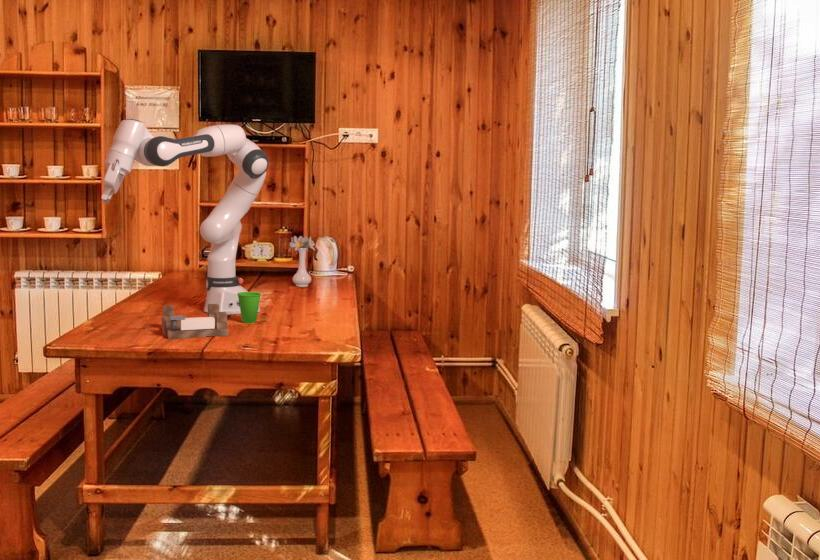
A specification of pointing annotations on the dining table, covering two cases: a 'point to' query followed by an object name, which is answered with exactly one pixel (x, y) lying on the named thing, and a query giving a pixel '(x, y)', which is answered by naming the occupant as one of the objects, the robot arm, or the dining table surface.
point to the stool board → (174, 331)
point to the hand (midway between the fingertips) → (104, 201)
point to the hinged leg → (195, 322)
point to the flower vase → (302, 260)
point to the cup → (249, 306)
